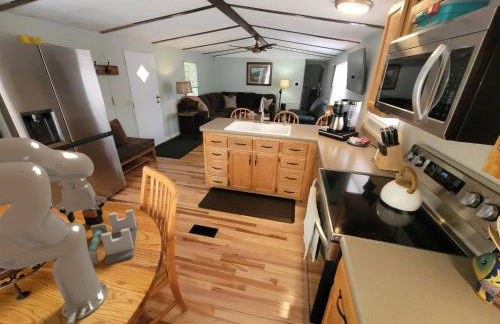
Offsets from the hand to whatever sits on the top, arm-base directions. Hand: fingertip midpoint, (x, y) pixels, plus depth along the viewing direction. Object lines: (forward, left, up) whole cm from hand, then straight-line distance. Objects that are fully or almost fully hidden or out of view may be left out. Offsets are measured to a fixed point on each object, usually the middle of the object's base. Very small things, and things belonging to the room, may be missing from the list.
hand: (86, 218), depth 87 cm
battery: (+21, +5, -17) cm, 27 cm away
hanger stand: (0, -11, -16) cm, 20 cm away
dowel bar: (0, 0, -16) cm, 16 cm away
